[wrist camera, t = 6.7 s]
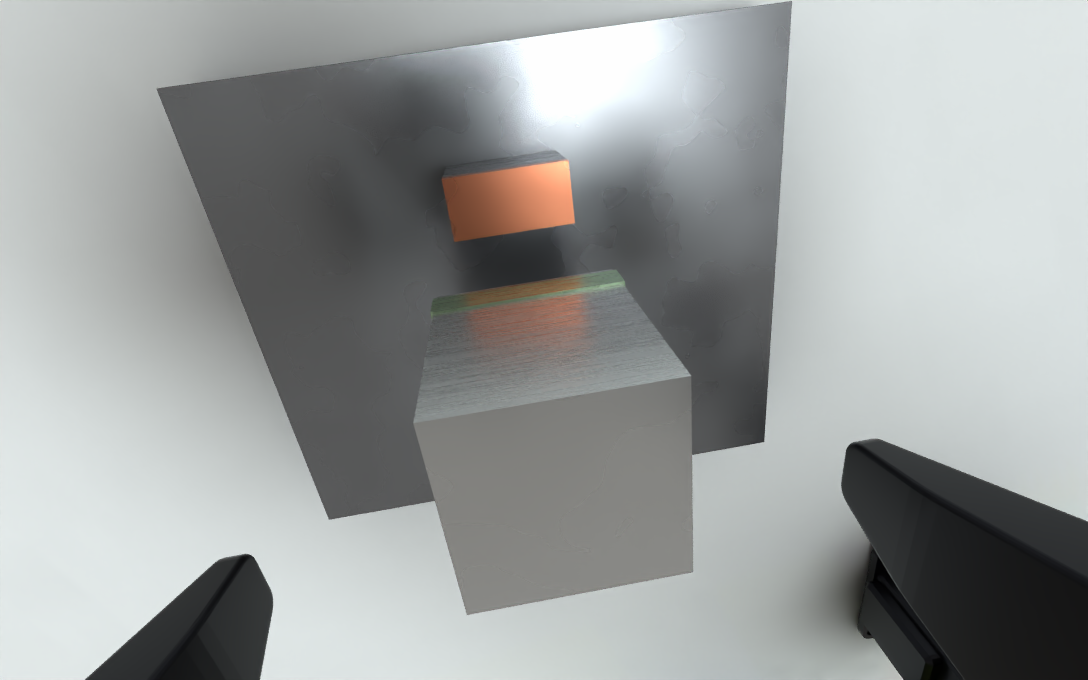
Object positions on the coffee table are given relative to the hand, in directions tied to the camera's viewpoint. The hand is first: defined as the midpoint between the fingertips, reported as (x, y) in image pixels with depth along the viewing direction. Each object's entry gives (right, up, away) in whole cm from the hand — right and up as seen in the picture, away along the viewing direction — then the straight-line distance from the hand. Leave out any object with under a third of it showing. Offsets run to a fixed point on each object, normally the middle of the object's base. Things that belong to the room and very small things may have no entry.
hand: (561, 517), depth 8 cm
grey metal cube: (0, +2, +5) cm, 5 cm away
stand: (-1, +5, +10) cm, 11 cm away
